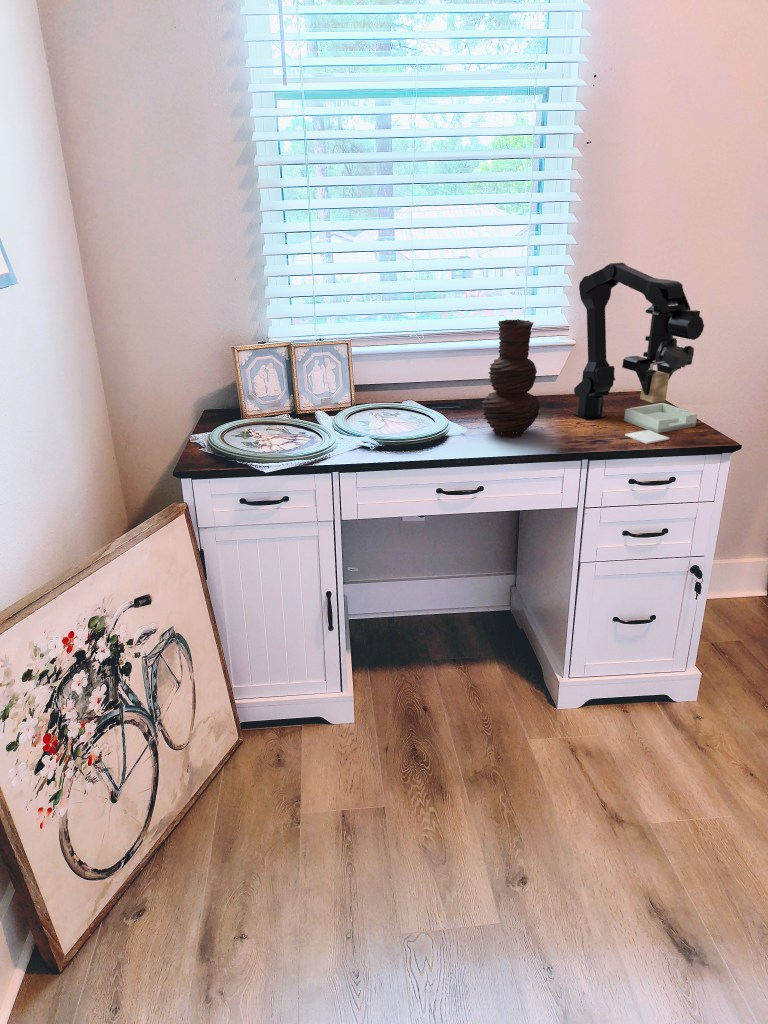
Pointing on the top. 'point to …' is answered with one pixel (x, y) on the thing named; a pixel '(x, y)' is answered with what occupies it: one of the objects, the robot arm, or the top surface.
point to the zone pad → (647, 436)
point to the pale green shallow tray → (660, 417)
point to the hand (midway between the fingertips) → (653, 393)
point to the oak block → (657, 388)
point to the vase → (512, 382)
